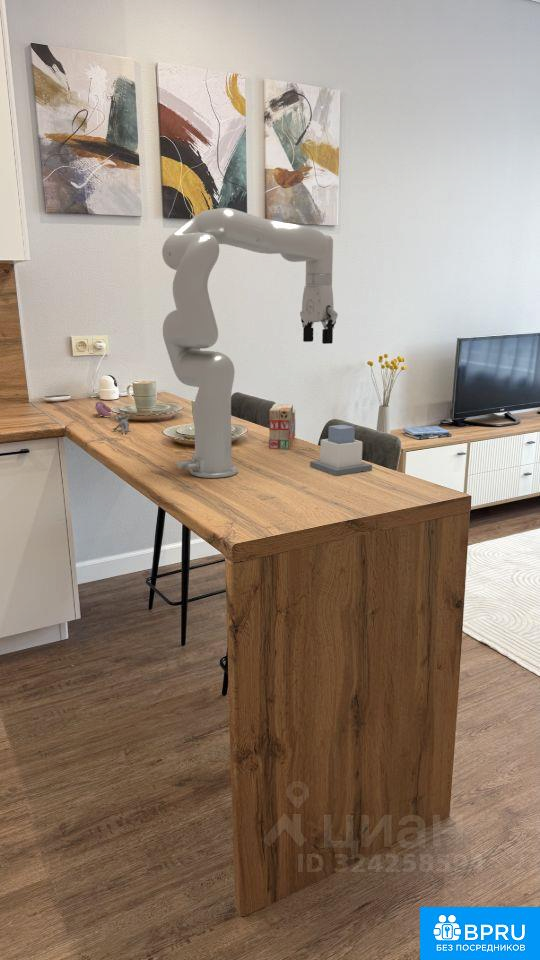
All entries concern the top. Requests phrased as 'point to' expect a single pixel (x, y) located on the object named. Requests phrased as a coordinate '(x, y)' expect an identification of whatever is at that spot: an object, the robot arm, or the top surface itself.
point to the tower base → (340, 470)
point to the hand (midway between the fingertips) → (317, 342)
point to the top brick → (341, 434)
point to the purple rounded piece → (102, 409)
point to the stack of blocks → (281, 426)
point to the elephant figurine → (123, 422)
